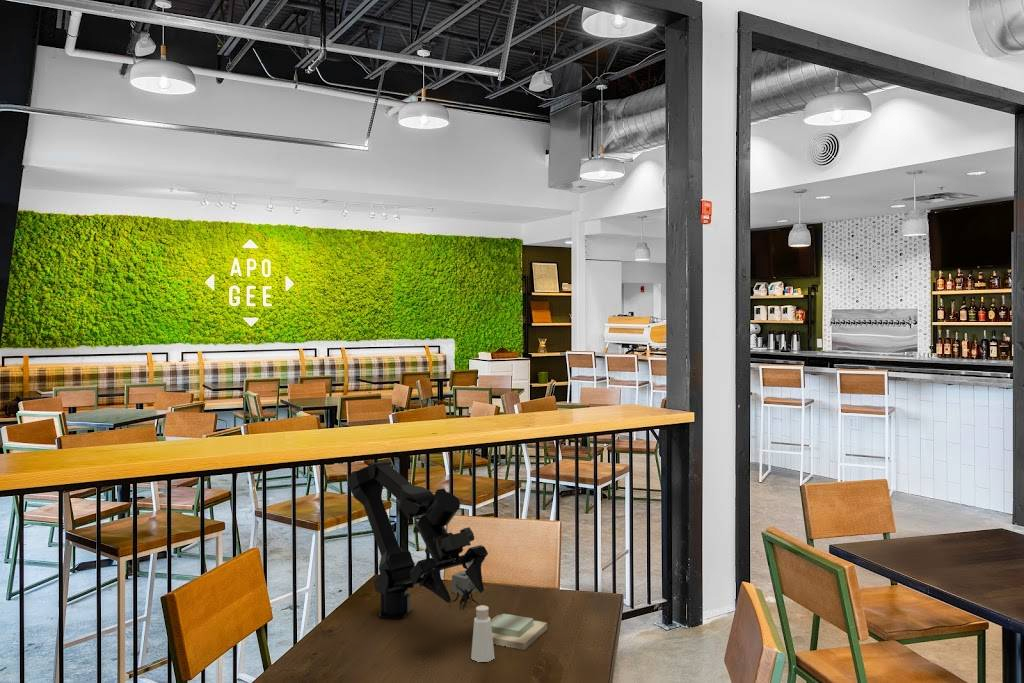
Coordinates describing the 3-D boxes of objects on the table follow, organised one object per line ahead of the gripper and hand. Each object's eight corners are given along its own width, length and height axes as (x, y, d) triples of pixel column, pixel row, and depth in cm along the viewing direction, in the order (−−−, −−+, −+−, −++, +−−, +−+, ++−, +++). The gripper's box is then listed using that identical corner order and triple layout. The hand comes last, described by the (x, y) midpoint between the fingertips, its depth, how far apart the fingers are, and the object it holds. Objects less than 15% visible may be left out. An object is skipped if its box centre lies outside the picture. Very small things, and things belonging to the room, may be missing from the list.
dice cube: (452, 593, 203) (451, 574, 203) (464, 588, 207) (464, 570, 207) (465, 597, 200) (465, 578, 200) (478, 592, 204) (478, 573, 204)
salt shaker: (498, 654, 164) (498, 604, 164) (490, 664, 159) (489, 613, 159) (475, 651, 166) (475, 601, 166) (466, 661, 161) (465, 610, 161)
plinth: (472, 640, 171) (472, 627, 171) (498, 620, 183) (497, 608, 183) (524, 650, 166) (524, 636, 166) (547, 629, 178) (547, 616, 178)
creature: (477, 616, 189) (482, 598, 197) (476, 597, 188) (481, 580, 196) (447, 615, 190) (452, 597, 198) (445, 596, 189) (451, 579, 197)
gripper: (416, 524, 164) (447, 587, 156) (482, 510, 176) (514, 567, 168) (397, 553, 170) (426, 614, 162) (462, 537, 182) (492, 594, 174)
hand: (466, 596), depth 166 cm, fingers open, 9 cm apart
